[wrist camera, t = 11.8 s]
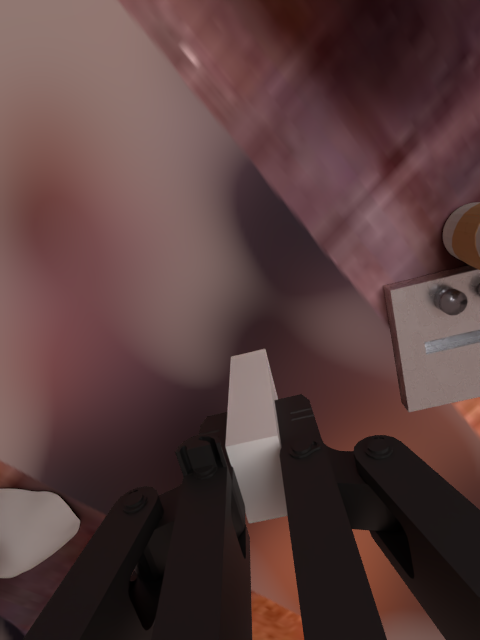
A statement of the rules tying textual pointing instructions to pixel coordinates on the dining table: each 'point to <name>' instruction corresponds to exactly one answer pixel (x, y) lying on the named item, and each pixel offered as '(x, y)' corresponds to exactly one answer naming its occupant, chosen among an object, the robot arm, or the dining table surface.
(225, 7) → the dining table surface
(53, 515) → the head bust
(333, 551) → the robot arm
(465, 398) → the console
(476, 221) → the coffee cup
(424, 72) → the dining table surface
